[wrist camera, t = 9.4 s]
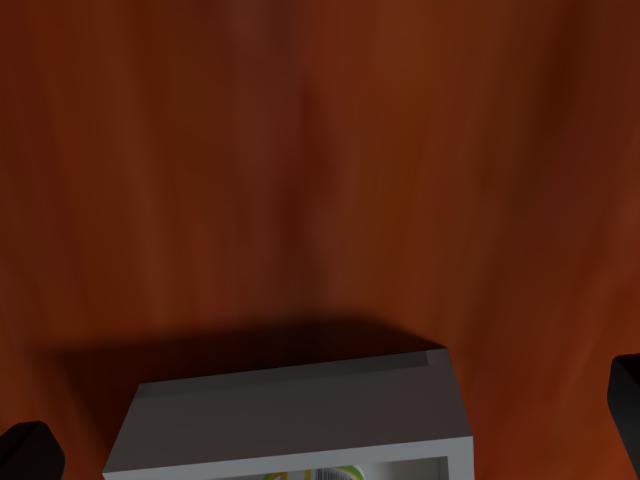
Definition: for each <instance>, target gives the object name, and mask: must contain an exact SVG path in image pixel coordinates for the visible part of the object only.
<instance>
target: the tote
mask: <svg viewBox="0 0 640 480" xmlns="http://www.w3.org/2000/svg"><path fill="white" fill-rule="evenodd" d="M349 465H359V466H360V468H361V469H362V471H363V474H364V477H365V480H474V459H473V436H472V432H471V429H470V425H469V422H468V418H467V415H466V411H465V408H464V404H463V401H462V397H461V394H460V391H459V387H458V384H457V380H456V377H455V373H454V370H453V366H452V363H451V359H450V356H449V353H448V349H447V348H444V349H436V350H427V351H419V352H410V353H401V354H393V355H384V356H375V357H367V358H358V359H350V360H341V361H332V362H324V363H315V364H307V365H298V366H289V367H281V368H272V369H264V370H255V371H246V372H238V373H229V374H220V375H212V376H203V377H195V378H186V379H177V380H169V381H160V382H152V383H143V384H139V387H138V389H137V391H136V394H135V396H134V399H133V401H132V403H131V406H130V408H129V410H128V413H127V415H126V417H125V420H124V422H123V425H122V427H121V429H120V432H119V434H118V436H117V439H116V441H115V444H114V446H113V448H112V451H111V453H110V455H109V458H108V460H107V462H106V465H105V467H104V470H103V472H102V474H103V476H104V478H105V480H263V476H264V474H266V473H277V472H287V471H297V470H308V469H318V468H328V467H338V466H349Z"/></svg>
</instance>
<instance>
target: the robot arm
mask: <svg viewBox="0 0 640 480" xmlns="http://www.w3.org/2000/svg"><path fill="white" fill-rule="evenodd" d="M607 401H608V406H609V409H610V412H611V415H612V417H613V420H614V422H615V424H616V427H617V429H618V432H619V434H620V436H621V439H622V441H623V444H624V446H625V449H626V451H627V453H628V456H629V458H630V461H631V463H632V465H633V468H634V470H635V473H636V475H637V478H638V480H640V353H636V354H627V355H619V356H616V357H615V358H614V359H613V360H612V364H611V371H610V378H609V385H608V392H607ZM64 468H65V456H64V452H63V450H62V449H61V447H60V445H59V444H58V442H57V440H56V439H55V437H54V435H53V434H52V432H51V431H50V429H49V427H48V426H47V425H46V424H45V423H44V422H42V421H32V422H23V423H18V424H16V425H14V426H12V427H11V428H10V429H9V430H7V431H6V432H5V433H4V434H2V435H1V436H0V480H62V476H63V472H64Z"/></svg>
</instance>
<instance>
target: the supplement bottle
mask: <svg viewBox="0 0 640 480" xmlns="http://www.w3.org/2000/svg"><path fill="white" fill-rule="evenodd" d="M263 480H365V477H364V474H363V471H362V469H361V468H360V466H359V465H349V466H338V467H328V468H318V469H308V470H297V471H287V472H277V473H266V474H264V476H263Z"/></svg>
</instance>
